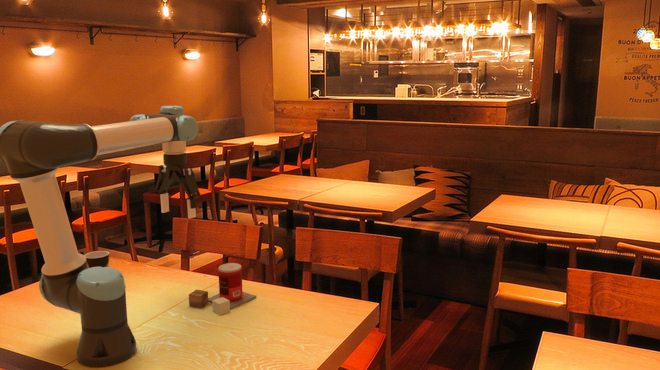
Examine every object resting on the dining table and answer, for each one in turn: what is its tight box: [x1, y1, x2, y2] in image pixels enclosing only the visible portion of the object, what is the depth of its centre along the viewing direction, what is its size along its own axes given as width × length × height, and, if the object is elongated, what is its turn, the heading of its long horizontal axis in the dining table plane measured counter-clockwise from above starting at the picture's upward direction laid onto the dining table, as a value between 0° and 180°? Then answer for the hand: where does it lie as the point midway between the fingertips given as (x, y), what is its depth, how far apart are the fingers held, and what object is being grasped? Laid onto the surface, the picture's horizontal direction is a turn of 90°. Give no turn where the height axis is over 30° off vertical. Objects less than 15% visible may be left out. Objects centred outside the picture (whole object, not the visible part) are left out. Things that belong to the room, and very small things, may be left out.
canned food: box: [217, 262, 243, 302], centre depth 189 cm, size 8×8×11 cm
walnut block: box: [188, 289, 210, 310], centre depth 185 cm, size 4×4×4 cm
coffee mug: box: [83, 250, 110, 268], centre depth 209 cm, size 12×9×10 cm
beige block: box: [211, 297, 231, 317], centre depth 180 cm, size 4×4×4 cm
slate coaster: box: [208, 291, 257, 310], centre depth 190 cm, size 12×12×1 cm
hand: (178, 214), depth 189 cm, fingers open, 13 cm apart
